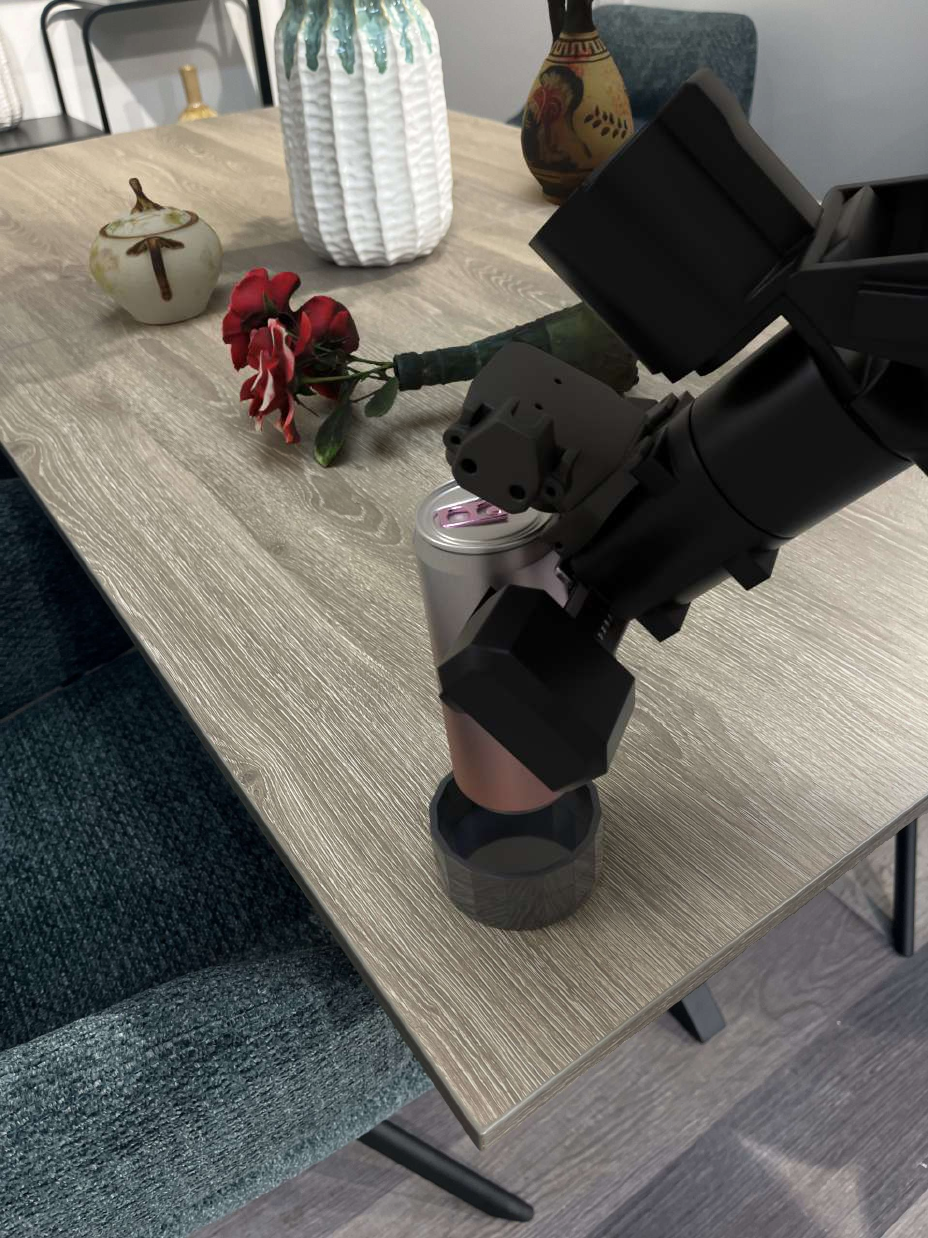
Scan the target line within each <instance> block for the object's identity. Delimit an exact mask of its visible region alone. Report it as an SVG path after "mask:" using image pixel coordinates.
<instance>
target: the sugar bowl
mask: <svg viewBox="0 0 928 1238" xmlns="http://www.w3.org/2000/svg"><path fill="white" fill-rule="evenodd" d="M128 185H129V186H130V187H131V189H132V191H133V193H134V195H135V196H136V202H135V205H134V206H133V208H131V210H128V211H126V212H123V213H121V214H120V215H118V216H116V217H115V218H113V220H112V221H110V222H108V223H107V224H105V225H104V226H102V227H101V228H100V229H99V231H98V235H97V236H96V238H95V239H94V241H93V242H92V244H91V246H90V251H89V255H88V262H89V269H90V271H91V274H92V276H93V279H94V280H95V281H96V283H97V285H98V286H99V287H100V288H101V290H103V291H104V292H105V294H107V296H109V297H110V298H111V299H112V300H114V302H115V303H117V304H118V305H119V306H120V307H121V308H122V309H124V310H125V311H126V312H127V313H129V314H130V315H131V316H132V317H133V318H134V319H135V320H136V321H138V322H139V323H142V324H148V325H166V324H172V323H178V322H182V321H186V320H190V319H194V318H195V317H197V316H199V315H201V314H203V312H204V311H205V310H206V308H207V306H208V303H209V301H210V298H211V296H212V294H213V291H214V289H215V287H216V285H217V283H218V281H219V278H220V275H221V271H222V267H223V263H224V250H223V245H222V243H221V239H220V237H219V235H218V234H217V233H216V231H215V229H214V228H213V227H212V226H211V225H210V224H209V223H208V222H207V221H205V220H204V219H202V218H201V217H200V216H199V215H198V214H197V213H196V212H193V211H192V210H186V209H184V210H183V209H180V208H178V207H174V206H168V205H167V206H166V205H161V204H159V203H156V202H154V201H153V200H151V199H150V198H148V197H147V196H146V194H145V193H144V191H143V187H142V184H141V182H140V180H139V178H137V177H131V178H129V180H128Z"/></svg>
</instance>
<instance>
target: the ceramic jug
mask: <svg viewBox="0 0 928 1238" xmlns="http://www.w3.org/2000/svg"><path fill="white" fill-rule="evenodd" d="M546 1H547V7H548V18H549V24H550V31H551V37H552V41H551V42H552V43H551V47H550V50H549V53H548V54H547V57H546V58H544V59H543V62H542V64H541V66H540V69H539V70H538V72H537V74H536V76H535V79H534V81H533V83H532V85H531V88H530V90H529V93H528V95H527V99H526V102H525V106H524V110H523V115H522V116H523V117H522V120H521V129H520V130H521V132H520V146H521V151H522V157H523V159H524V162H525V164H526V166H527V168H528V170H529V172H530V174H531V175H532V176H533V177H534V179H535V180H536V181H537V183H538V184H539V185H540V187H541V189H542V190H541V194H542V198H543V199H544V200H546V201H548V202H550V203H552V204H554V205H557V206H561V204H562V203H563V202H564V201H565V200H566V199H567V198H568V197H569V195H570V194H571V193H572V192H573V191H574V190H575V189H576V188H577V186H578V185H579V184H580V183H581V182H582V181H583V180H584V179H585V178H586V177H587V176H588V175H589V174H590V173H591V172H593V171H594V170H595V169H596V168H597V167H598V166H599V165H600V164H601V163H602V162H603V161H604V160H605V159H606V158H607V157H609V156H610V155H611V154H612V153H613V152H614V151H615V150H616V149H617V148H618V147H619V146H620V145H621V144H622V143H623V142H625V141H626V140H627V139H628V138H629V137H630V136H631V135H632V134H633V133H634V132H635V130H634V117H633V111H632V104H631V100H630V98H629V97H630V96H629V94H628V93H629V92H628V89H627V86H626V84H625V82H624V79H623V76H622V75H621V73H620V71H619V68H618V66H617V65H616V63H615V61H614V59H613V57H612V55H611V52H610V51H609V49H608V47H607V46H606V45H605V43H604V40H602V38H601V36H600V33H599V32H598V29H597V28H596V26H595V24H594V21H593V2H594V0H546Z"/></svg>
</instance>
